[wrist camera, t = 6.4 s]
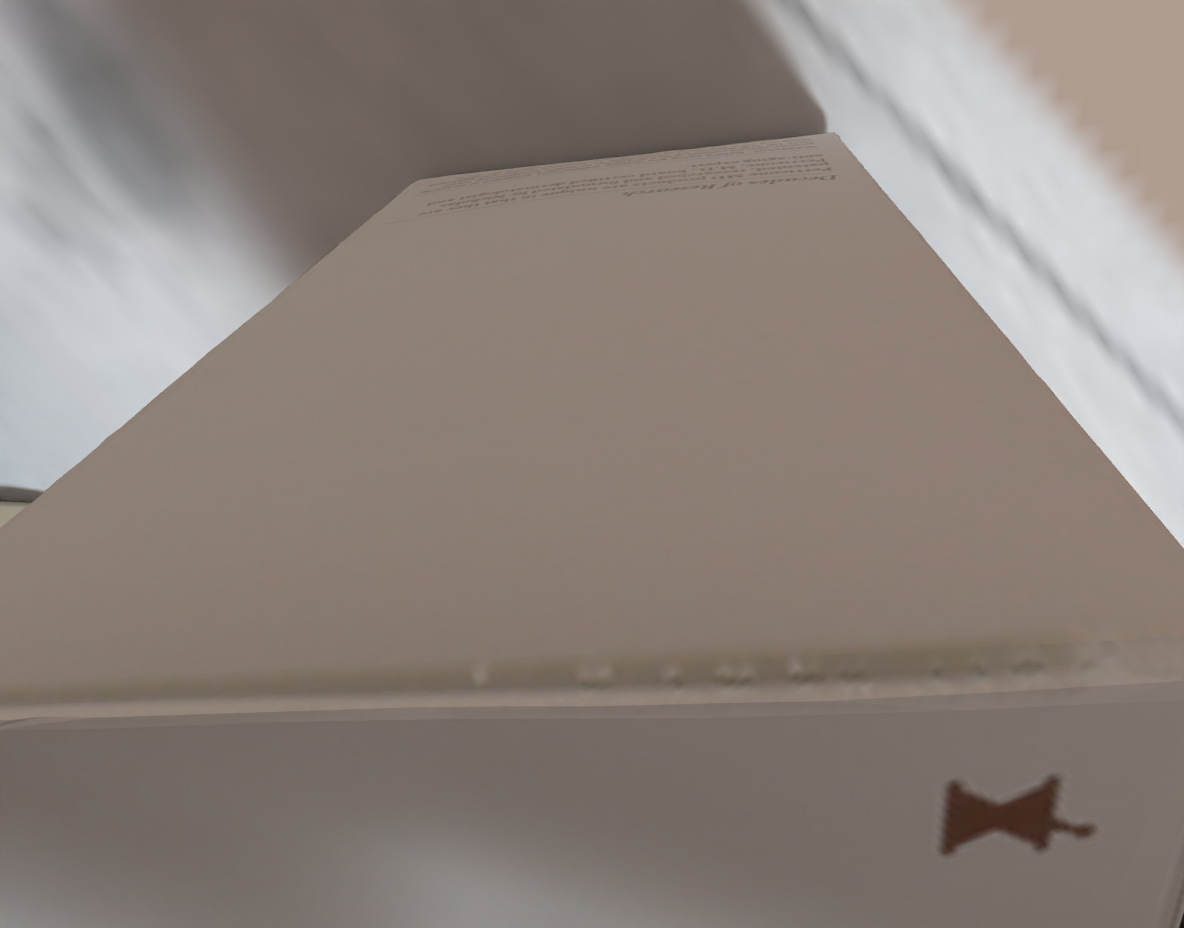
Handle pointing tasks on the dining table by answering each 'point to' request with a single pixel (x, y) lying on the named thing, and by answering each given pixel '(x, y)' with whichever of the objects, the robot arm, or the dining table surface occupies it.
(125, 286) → the dining table surface
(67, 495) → the supplement box
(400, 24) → the dining table surface
